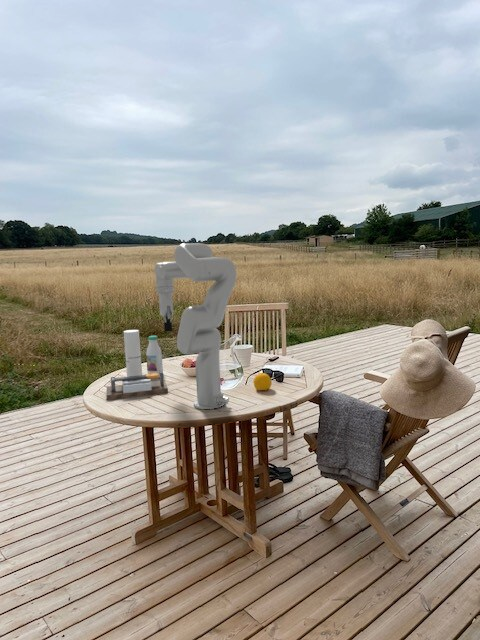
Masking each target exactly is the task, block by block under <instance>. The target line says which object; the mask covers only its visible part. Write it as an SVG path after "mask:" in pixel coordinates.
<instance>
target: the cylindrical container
mask: <svg viewBox="0 0 480 640" xmlns="http://www.w3.org/2000/svg"><path fill="white" fill-rule="evenodd" d="M140 341H141V340H140V330H139V329H127V330H123V343H124V344H123V345H124V355H125V366H126V367H125V369H126V377H130V376H139V375H143V372H142V371H143V368H142V367H143V366H142V355H141V352H142V351H141V342H140Z"/></svg>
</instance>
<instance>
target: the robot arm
mask: <svg viewBox="0 0 480 640" xmlns="http://www.w3.org/2000/svg"><path fill="white" fill-rule="evenodd" d="M173 259H174V261H164V262H157V263H155V266H154V271H155V285H156V294H157V295H158V304H159V305H158V306H159V307H158V308H159V315H160V316H161V317H163V326H164V327H163V328H164V329H163V330H164V332H165V333H166V332H172V331H173V323H172V316H173V315H174V304H173V294H175V287H174V280H178V279H189V280H191V281H192V282H196V283H200V282H201V283H202V282H213V281H215V282H214V283H213V284H212V285H211V286H210V287H209V289H208V290H207V292H206V294H205V298H204V301H203V303H202V304H198V305H192V306H191V305H190V306H188V307H186V308H185V309H184V310H183V312H182V315H181V318H180V322H179V327H178V332H177V336H176V346H177V349H178V351H179V353H181V354H183V355H192V354H197V356H196V359H195V378H196V379H195V380H196V400H194V401H193V407H195V408H196V409H198V410H204V409H210V410H215V409H214V408H217V409H219V408H218V407H220V408H222V407H224V406H225V405H227V404H229V401H230V398H229V397H227V396H224V393H223V392H222V389H221V367H220V366H221V365H220V363H221V362H220V350H221V343H222V336H221V335H222V334H221V331H220V330H218V329H217V328H219V327H220V326H221V325H222V322H223V321H224V316H225V313H226V311H227V310H226V309H227V306H228V302H229V299H230V296H231V295H232V292H233V290H234V287H235V285H236V281H237V268H236V265H235V263H234V261H232V260H231V259H230V258H228V257H221V256H220V257H219V256H218V257H217V256H216V257H214V256H213V250H212V248H211V247H210V246H209V245H207V244H206V243H203V242H201V243H200V242H197V243H193V242H191V243H181V244H179V245H178V246H177V247H175V249H174V254H173ZM224 404H225V405H224ZM223 405H224V406H223ZM221 406H222V407H221Z"/></svg>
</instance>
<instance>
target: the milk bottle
mask: <svg viewBox="0 0 480 640" xmlns="http://www.w3.org/2000/svg"><path fill="white" fill-rule="evenodd" d="M147 339H148V346H147V348H146V369H147V371H146V373H147V374H150V373H158V374H159V371H160V370H162V372H163V373H164V371H163V370H164V369H163V355H162V349H161V347H160V346H159V342H158V335H149V336H148V338H147ZM159 377H160V375H159Z"/></svg>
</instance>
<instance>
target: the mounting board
mask: <svg viewBox="0 0 480 640" xmlns="http://www.w3.org/2000/svg"><path fill="white" fill-rule="evenodd" d="M151 388H152V390H148V391H140V392H131V393H123V384H119V385H118V384H117V385H116V384H115V390H116V392H112V388H111V385H109V386H106V401H107V400H108V401H110V400H117V399H127V398H135V397H144V396H152V395H158V394H159V395H161V394H167V393H169V387H168V386H167V384H166V382H165V380H164V386H161V384H160V380H154V381H153V380H151Z"/></svg>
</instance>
